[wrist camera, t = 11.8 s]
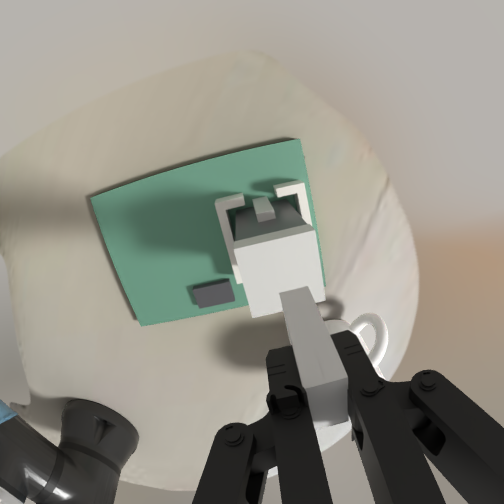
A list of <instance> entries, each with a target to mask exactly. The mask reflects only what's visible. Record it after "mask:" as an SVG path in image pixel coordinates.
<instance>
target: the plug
mask: <svg viewBox="0 0 504 504" xmlns="http://www.w3.org/2000/svg"><path fill="white" fill-rule="evenodd" d="M252 201H253V205H254V206H253V207H249V208H245V209H241V210H236V236H235V241H234V247H233V250H234V253H235V257H236V261H237V264H238V268H239V271H240V275H241V279H242V282H243V286H244V289H245V293H246V296H247V300H248V303H249V307H250V311H251V314H252V318H256V317H260V316H264V315H269V314H273V313H277V312H282V311H283V309H282V304H281V300H280V295H279V293H280V292H284V291H289V290H293V289H297V288H301V287H305V286H308V287H309V289H310V292H311V294H312V296H313V298H314V300H315V303H318V302H322V301H325V300H326V299H325V292H324V284H323V277H322V270H321V263H320V257H319V250H318V244H317V238H316V232H315V229H314V228H313V227H312V226H311V225H310V224H307V223H306V222H305V221H304V219H303V218H302V217H301V216H300V215H299V214H298V212H297V211H296V210H295V209H294V208H293V206H292V205H291V204H290V203H289V202H288V201H287V199H283V200H279V201H274V202H269V200H268V198H267V196H265V197H260V198H256V199H252Z"/></svg>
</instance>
